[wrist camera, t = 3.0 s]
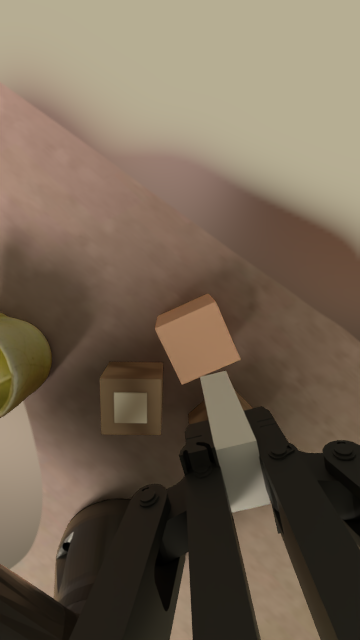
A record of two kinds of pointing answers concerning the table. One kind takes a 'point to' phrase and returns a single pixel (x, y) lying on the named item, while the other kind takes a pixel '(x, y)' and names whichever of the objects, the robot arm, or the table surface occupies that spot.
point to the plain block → (196, 338)
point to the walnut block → (131, 398)
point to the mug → (21, 361)
